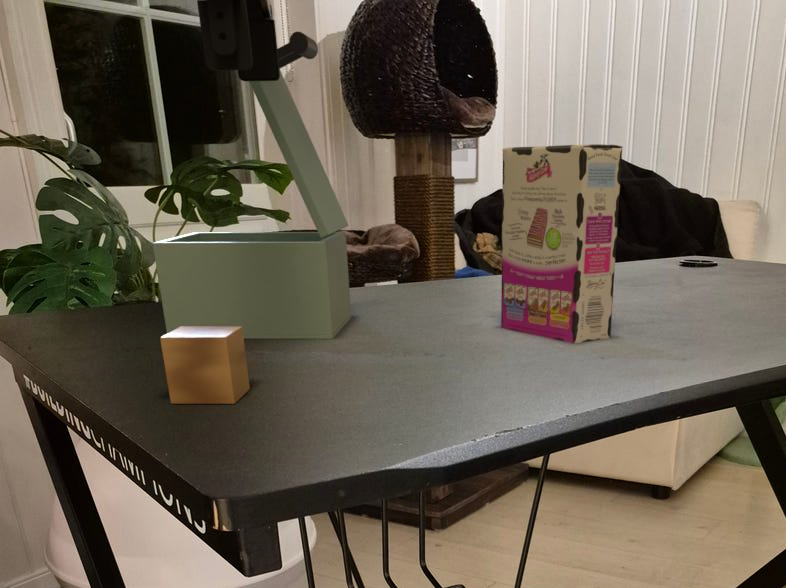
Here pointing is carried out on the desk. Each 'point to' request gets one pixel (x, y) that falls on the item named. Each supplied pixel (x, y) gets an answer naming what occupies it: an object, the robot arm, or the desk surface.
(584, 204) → the candy bar box
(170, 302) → the bin
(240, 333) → the block
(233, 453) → the desk surface
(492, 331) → the desk surface
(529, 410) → the desk surface
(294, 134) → the lid
